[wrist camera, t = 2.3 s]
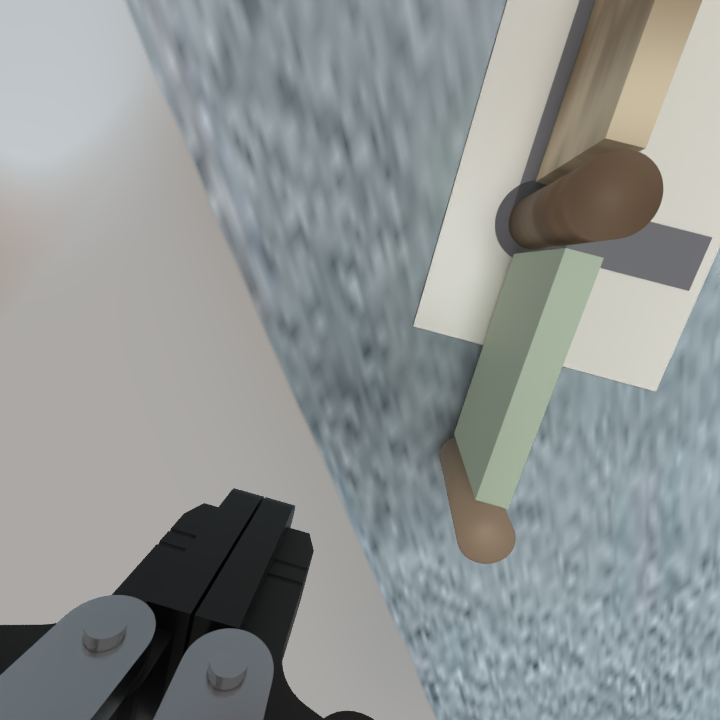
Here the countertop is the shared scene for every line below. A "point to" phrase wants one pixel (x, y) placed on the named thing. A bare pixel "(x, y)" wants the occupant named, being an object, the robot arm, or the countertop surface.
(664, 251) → the card
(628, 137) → the fence fixed
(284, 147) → the countertop surface
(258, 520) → the robot arm
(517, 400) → the fence gate
